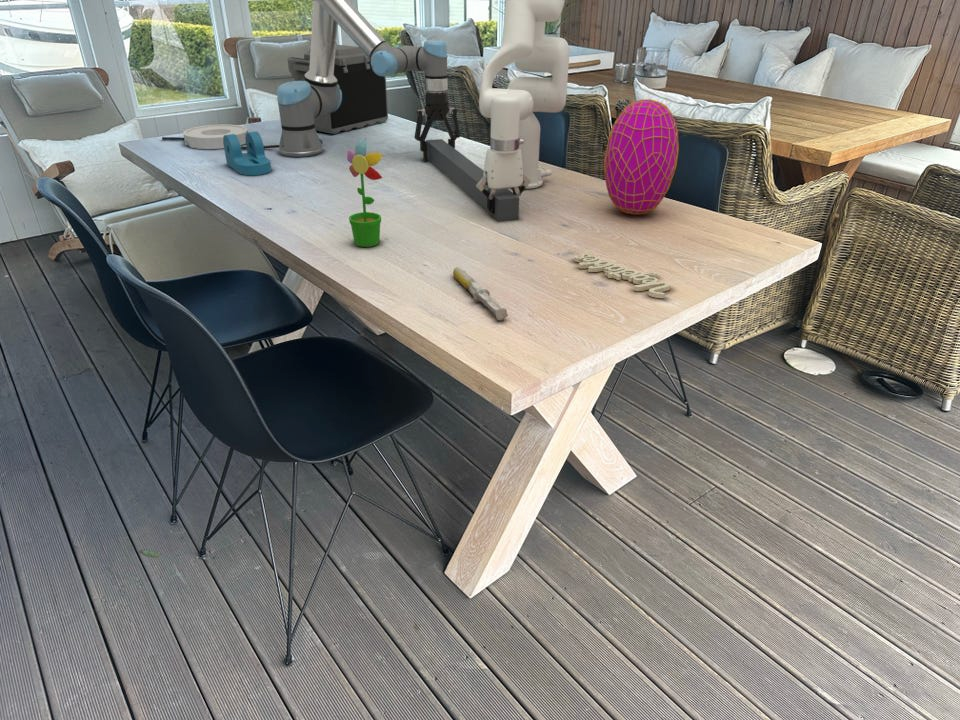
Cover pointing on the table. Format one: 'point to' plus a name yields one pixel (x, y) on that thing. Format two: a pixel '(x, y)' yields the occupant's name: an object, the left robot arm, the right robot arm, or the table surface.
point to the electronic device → (349, 90)
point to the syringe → (479, 293)
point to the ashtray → (213, 135)
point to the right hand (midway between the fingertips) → (502, 210)
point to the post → (471, 179)
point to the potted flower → (364, 222)
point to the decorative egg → (641, 156)
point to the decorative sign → (625, 274)
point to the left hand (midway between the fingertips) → (438, 159)
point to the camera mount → (246, 154)
